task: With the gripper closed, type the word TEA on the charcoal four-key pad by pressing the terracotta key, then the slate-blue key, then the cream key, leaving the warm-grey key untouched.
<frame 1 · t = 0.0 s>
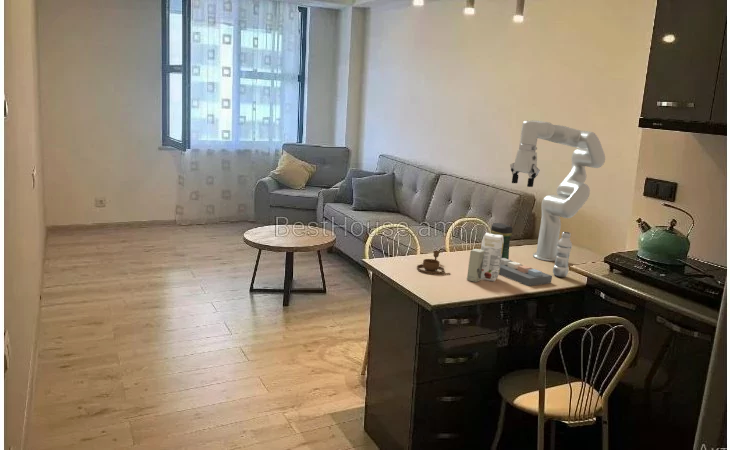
hand: (522, 184, 295), 37 cm above the counter, tool pointing down, fingers open, 9 cm apart
juice carton: (487, 278, 270), on the counter
key T: (524, 269, 275), point 4 cm above the counter, slide at 0.0 cm
key A: (514, 265, 280), point 4 cm above the counter, slide at 0.0 cm
brown cup and saucer: (435, 270, 277), on the counter
keypad: (517, 275, 278), on the counter
key K: (504, 261, 284), point 4 cm above the counter, slide at 0.0 cm
key E: (534, 273, 270), point 4 cm above the counter, slide at 0.0 cm
coffee jar: (497, 262, 298), on the counter
plastic bottle: (559, 276, 284), on the counter
box: (473, 280, 265), on the counter
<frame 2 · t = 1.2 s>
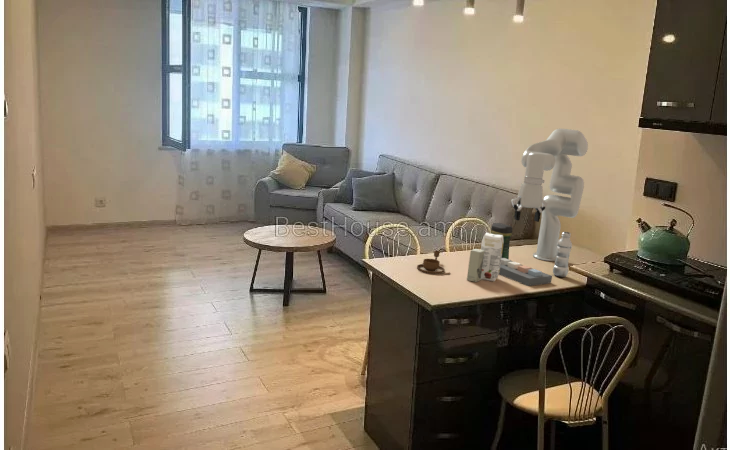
hand: (526, 220, 277), 24 cm above the counter, tool pointing down, fingers open, 9 cm apart
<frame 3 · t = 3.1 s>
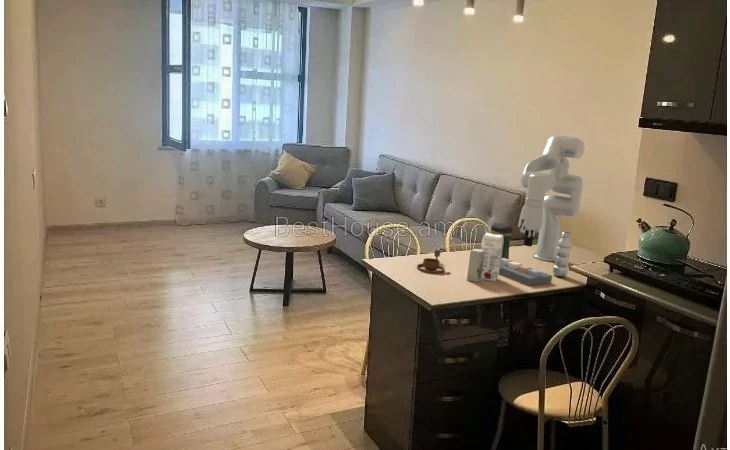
hand: (527, 245, 272), 15 cm above the counter, tool pointing down, fingers closed
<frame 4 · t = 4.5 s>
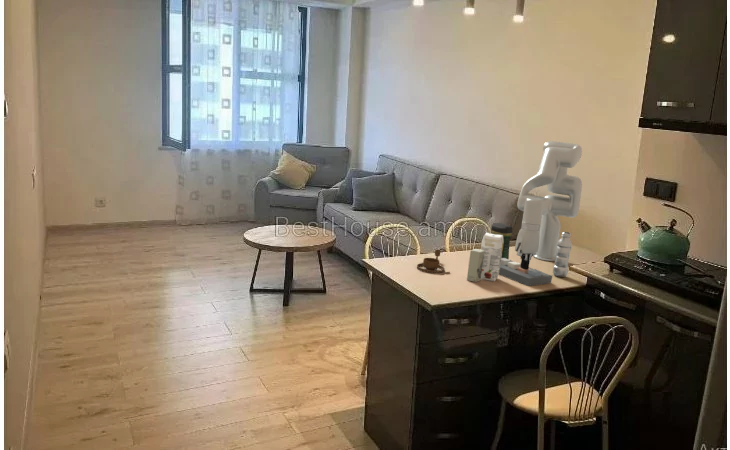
hand: (524, 268, 274), 4 cm above the counter, tool pointing down, fingers closed
key T: (524, 270, 275), point 3 cm above the counter, slide at -0.8 cm
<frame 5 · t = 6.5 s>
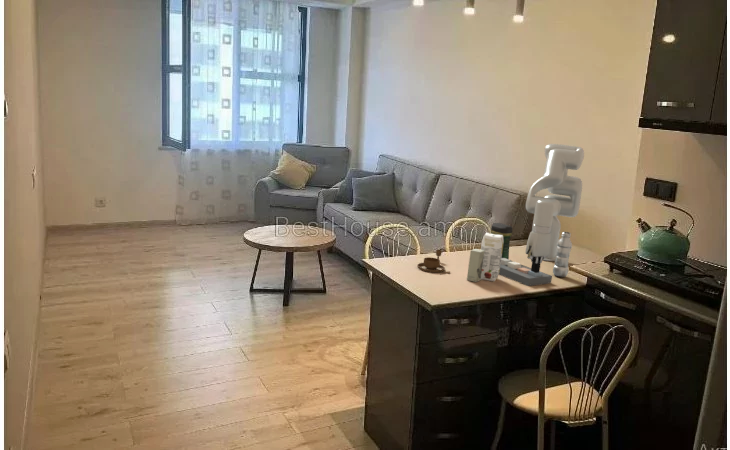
hand: (534, 271, 269), 5 cm above the counter, tool pointing down, fingers closed
key E: (534, 273, 270), point 4 cm above the counter, slide at -0.4 cm, touching gripper
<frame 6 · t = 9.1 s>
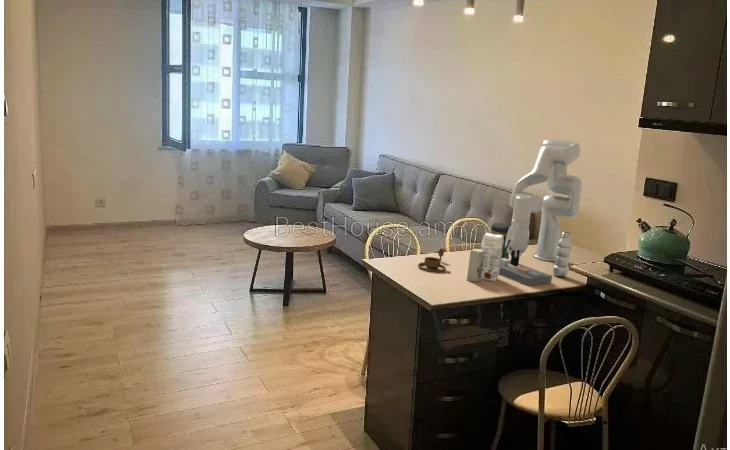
hand: (514, 265, 279), 4 cm above the counter, tool pointing down, fingers closed
key A: (513, 267, 280), point 3 cm above the counter, slide at -1.0 cm, touching gripper
key E: (534, 275, 270), point 3 cm above the counter, slide at -1.0 cm
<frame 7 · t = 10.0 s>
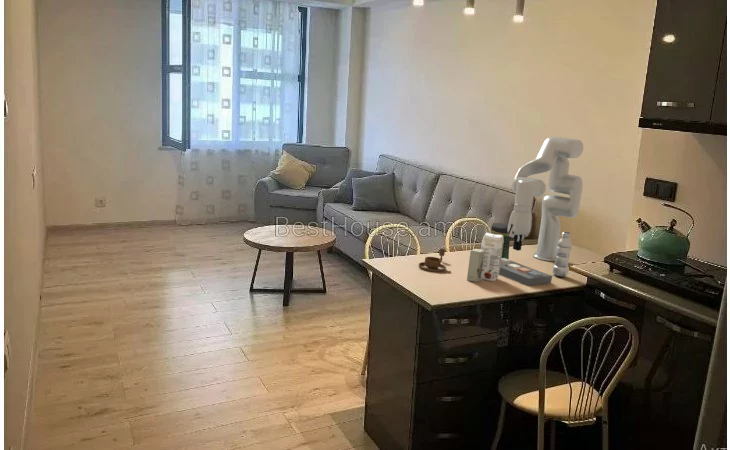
hand: (516, 249, 278), 11 cm above the counter, tool pointing down, fingers closed
key A: (513, 267, 280), point 3 cm above the counter, slide at -1.0 cm
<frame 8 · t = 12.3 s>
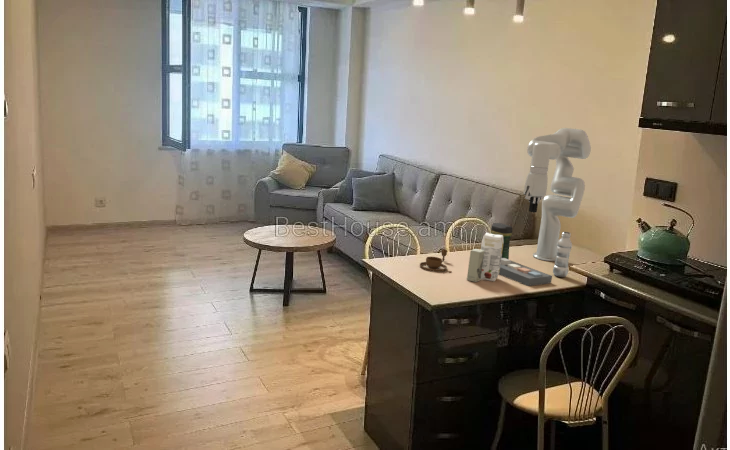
hand: (532, 211, 283), 27 cm above the counter, tool pointing down, fingers closed
at the end: key T slide at -1.1 cm; key E slide at -1.0 cm; key A slide at -1.0 cm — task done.
